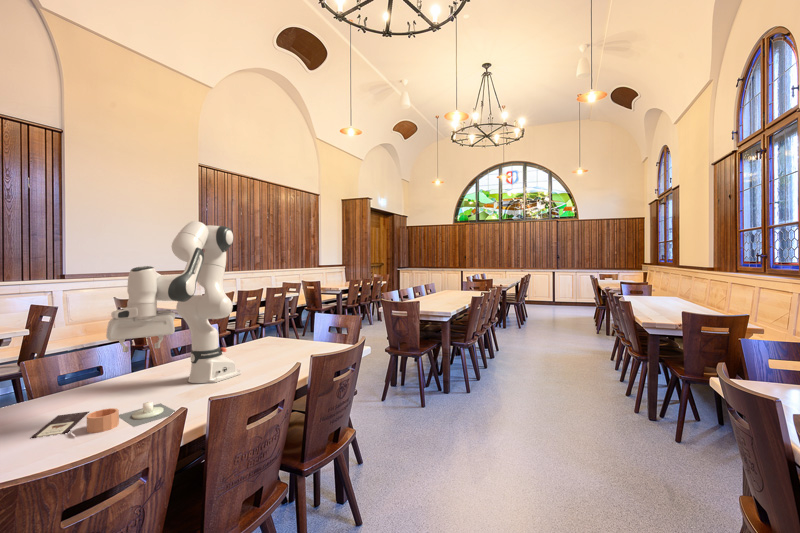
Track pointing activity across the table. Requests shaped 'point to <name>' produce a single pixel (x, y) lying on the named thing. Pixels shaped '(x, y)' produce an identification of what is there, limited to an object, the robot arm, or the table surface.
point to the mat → (137, 422)
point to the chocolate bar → (60, 424)
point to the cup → (102, 420)
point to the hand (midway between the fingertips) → (141, 349)
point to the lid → (147, 411)
